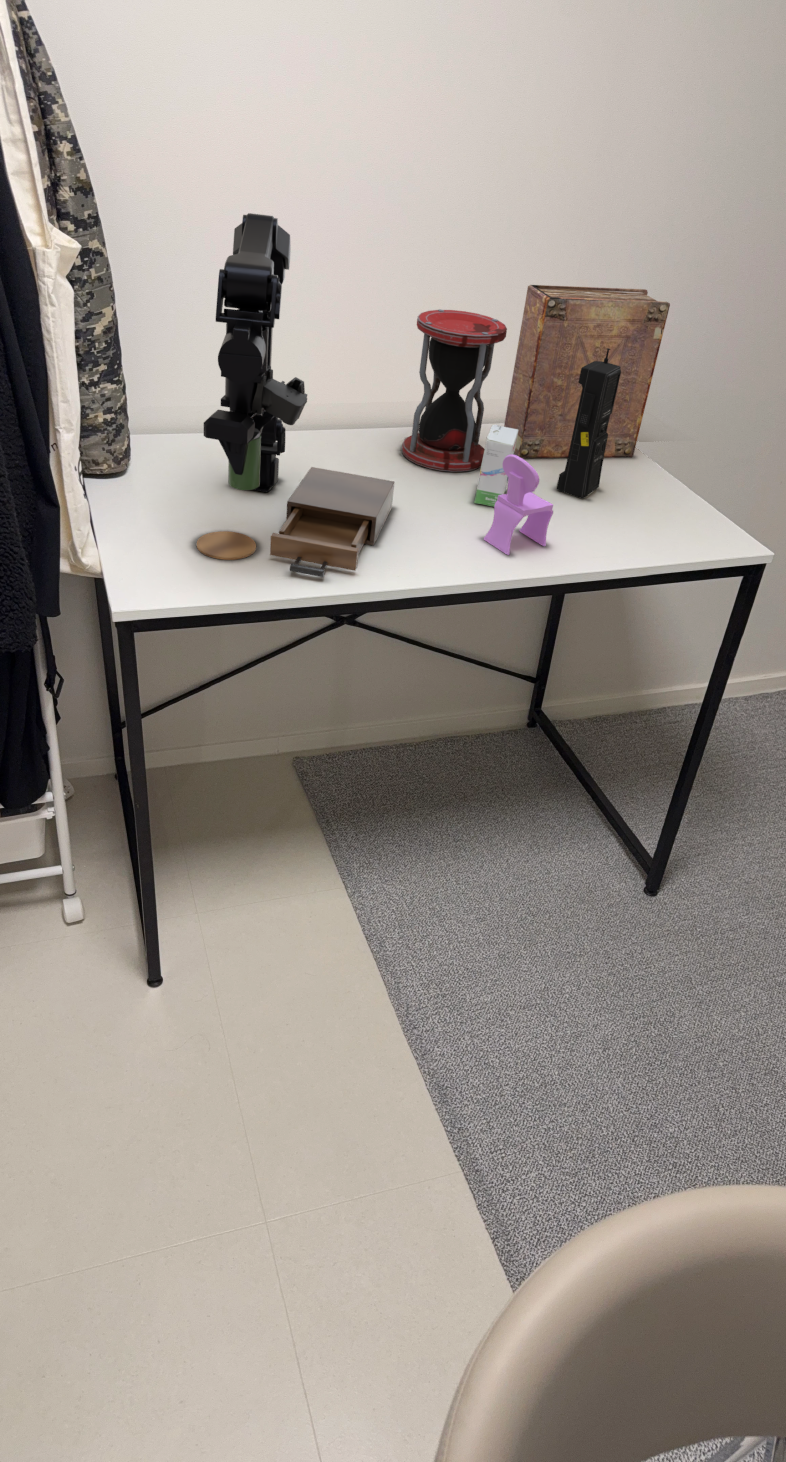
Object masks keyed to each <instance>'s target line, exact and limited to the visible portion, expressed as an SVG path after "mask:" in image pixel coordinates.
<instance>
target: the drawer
mask: <svg viewBox="0 0 786 1462" xmlns="http://www.w3.org/2000/svg"><path fill="white" fill-rule="evenodd" d="M371 524H372V520H366V519H361V518H355V517H350V516H344V515H339V514H333V513H328V512H322V511H316V510H311V509H305V508H300V507H295V509H294V510H293V511H292V513H291V514H290V516H289V517H288V519H287V520H286V519H285V522H284V523H283V525H282V526H281V527H280V529H279V530H278V533H277V532H272V533H271V535H270V546H269V547H270V548H269V556H271V557H272V556H273V557H278V558H283V559H289V560H294V562H291V563H290V565H289V572H293V573H299V574H303V575H309V576H314V577H318V578H319V577H320V578H324V577H325V572H326V571H325V570H326V569H327V567H332V568H338V569H343V570H348V571H354V572H355V571H356V570H357V568H358V562H359V561H358V560H359V554H360V553H361V551H362V548H363V546H364V545H365V544H364V542H365V540H366V539H367V537H368V535H369V533H370V531H371ZM301 562H305V563H310V564H316V565H320V567H316V566H311V565H305V564H301Z"/></svg>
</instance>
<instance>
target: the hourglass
mask: <svg viewBox="0 0 786 1462" xmlns="http://www.w3.org/2000/svg"><path fill="white" fill-rule="evenodd" d="M416 327H417V330H419V331H420V332H421V333H422V334H423V340H422V347H421V357H420V362H419V364H420V365H419V371H418V373H419V378H420V381H421V383H422V384H423V395H422V399H421V401H420V402H419V404H418V405H416V408H415V410H414V414H413V422H412V430H411V435H409V436H407V437H405V438H404V440H403V441H402V444H401V445H402V448H401V451H402V455H403V456H404V457H405V458H406V459H407V460H408V461H410V462H412V463H414V464H415V465H417V466H420V467H424V468H426V469H430V470H434V471H435V470H436V471H441V472H453V473H458V472H459V473H460V472H468V471H474V470H477V469H479V468H481V465H482V460H483V455H484V450H485V447H483V446H482V445H481V444H480V437H481V431H482V424H483V417H484V411H485V406H484V405H485V404H484V401H483V400H482V397H481V390H482V386H483V384H484V381H485V380H486V379H487V378H488V376H489V374H490V372H491V368H492V362H493V355H494V350H495V349H494V348H495V345H496V344H498V343H500V342H501V343H502V342H503V341H504V340H505V339H506V337H507V330H508V328H507V326H506V324H505V323H503V322H501V321H500V320H499V319H497V318H493V317H492V316H488V315H484V314H480V313H476V312H472V311H466V310H456V309H440V308H439V309H433V310H432V309H431V310H426V311H423V312H420V313H419V314H418V316H417V319H416ZM428 361H429V363H430V366H431V370H432V371H433V379H432V385H431V383H430V381H429V380H428V377H427V366H428ZM471 382H473V384H472V386H471V388H470V389H469V390H468V391H467V394H466V395H465V399H464V398H463V397H462V395H461V394H460V393H461V392H460V391H461V390H462V389H464V388H465V387H466V386H467V385H469V384H470V383H471ZM441 384H442V385H443V387H444V388H445V392H443V393H442V394H441V395H439V397H437V398H436V399H435V400H433V399H434V398H435V395H436V393H438V391H439V389H440V386H441ZM474 400H475V402H476V406H477V412H476V419H475V417H474V413H473V403H474Z"/></svg>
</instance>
